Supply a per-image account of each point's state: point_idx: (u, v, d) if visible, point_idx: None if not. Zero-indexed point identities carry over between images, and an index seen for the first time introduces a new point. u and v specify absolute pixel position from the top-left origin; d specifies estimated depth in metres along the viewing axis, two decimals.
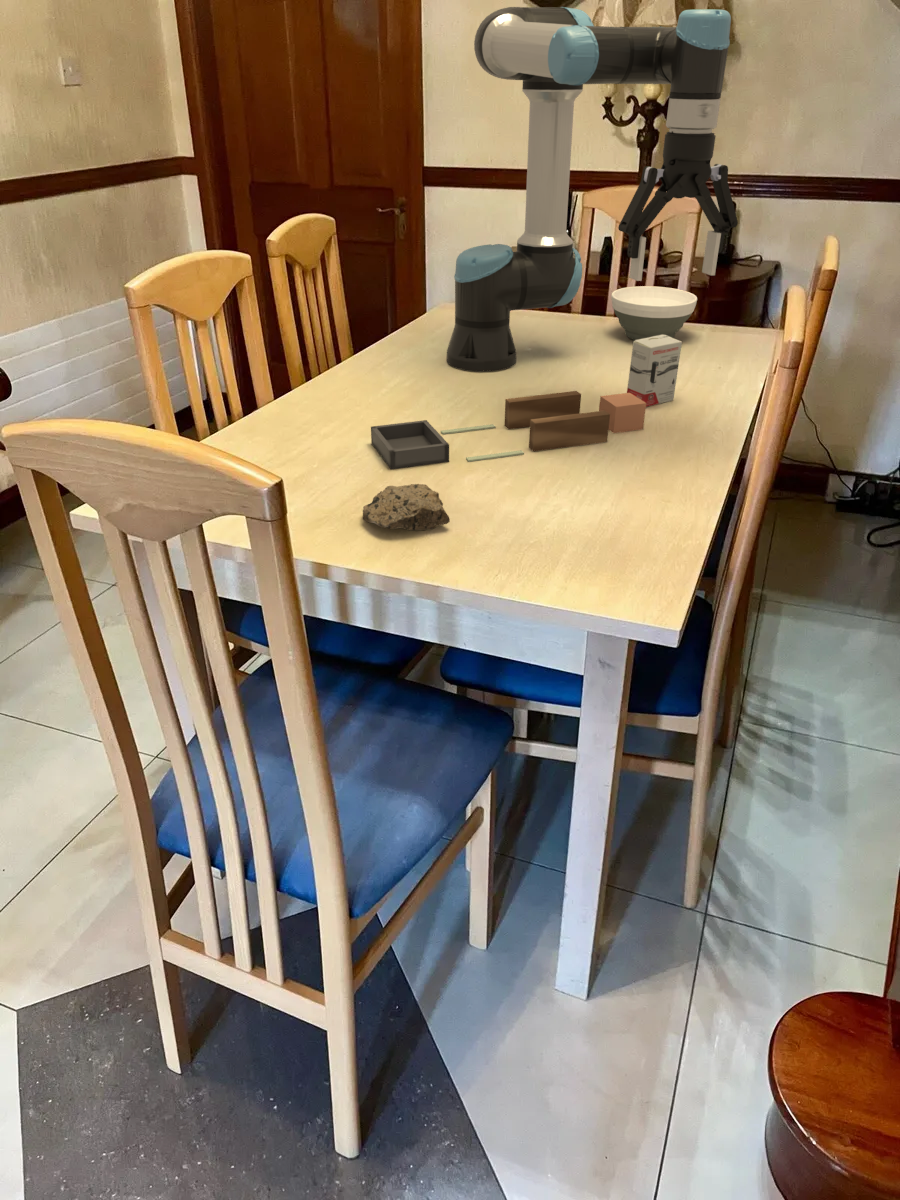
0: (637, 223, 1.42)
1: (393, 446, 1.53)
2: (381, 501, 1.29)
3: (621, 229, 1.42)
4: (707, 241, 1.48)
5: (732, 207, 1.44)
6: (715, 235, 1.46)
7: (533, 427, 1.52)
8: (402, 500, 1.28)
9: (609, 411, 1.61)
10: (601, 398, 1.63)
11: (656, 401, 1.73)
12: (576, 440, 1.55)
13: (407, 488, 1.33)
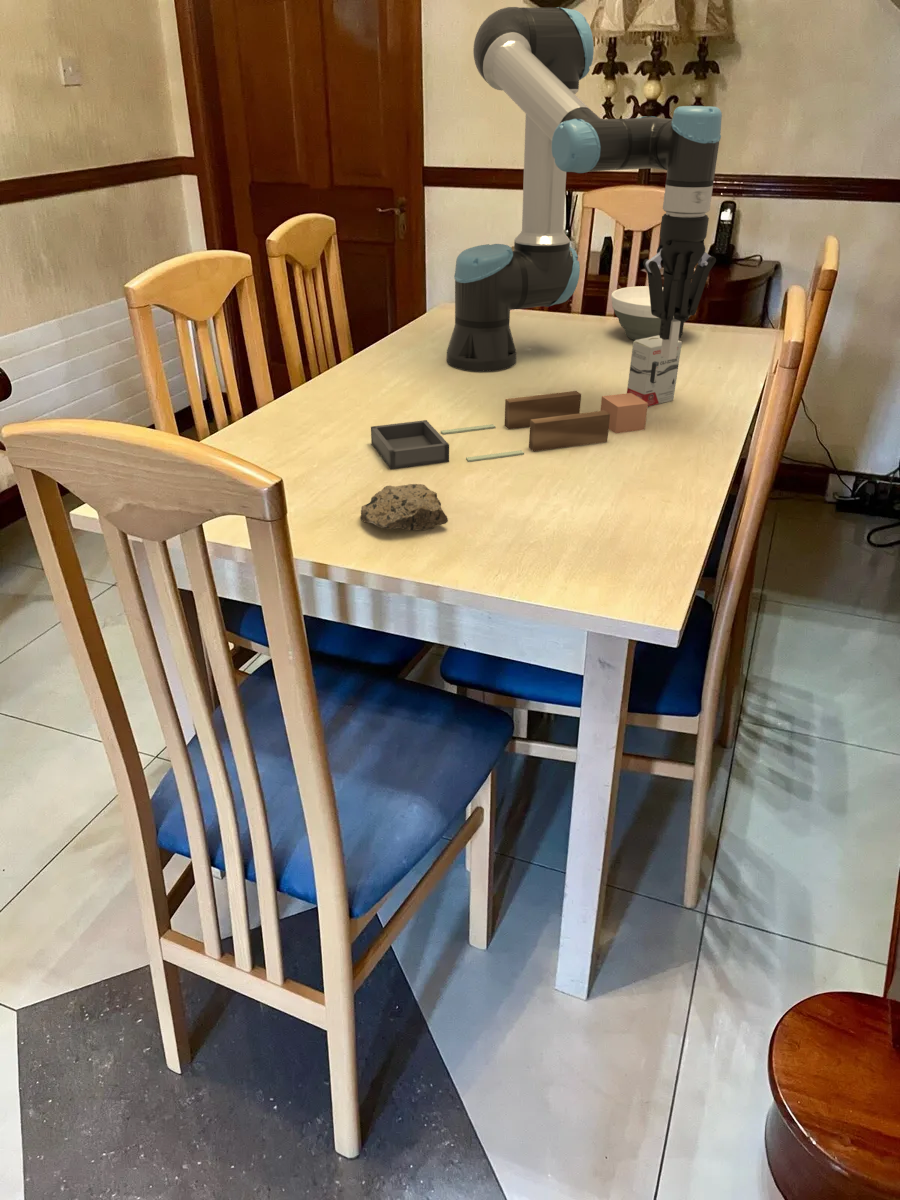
0: (664, 309, 1.55)
1: (393, 446, 1.53)
2: (379, 501, 1.29)
3: None
4: None
5: (699, 297, 1.55)
6: None
7: (533, 427, 1.52)
8: (400, 500, 1.29)
9: (611, 411, 1.61)
10: (603, 398, 1.63)
11: (656, 401, 1.73)
12: (576, 440, 1.55)
13: (405, 488, 1.33)
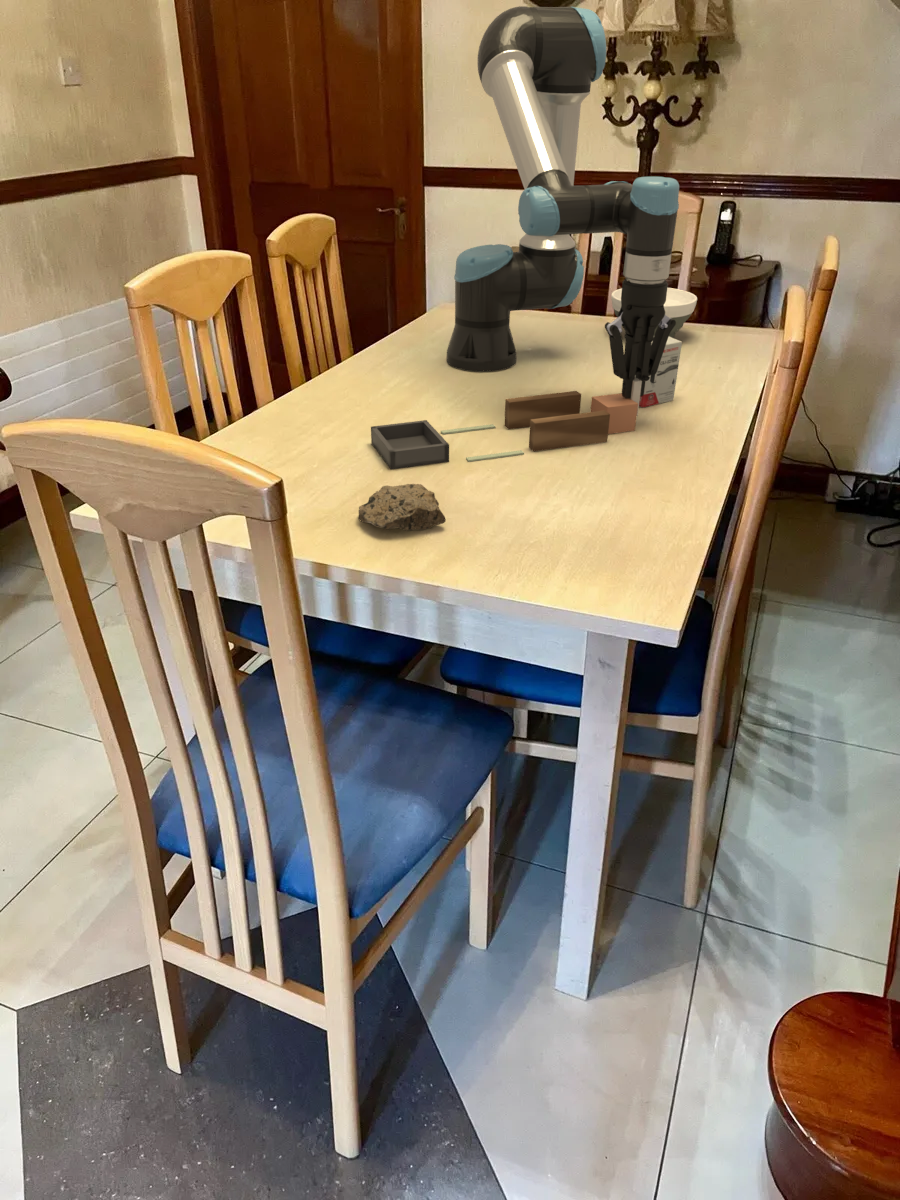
0: (625, 370, 1.59)
1: (393, 446, 1.53)
2: (377, 501, 1.29)
3: None
4: None
5: (659, 358, 1.59)
6: None
7: (533, 427, 1.52)
8: (398, 500, 1.29)
9: None
10: (593, 399, 1.62)
11: (656, 401, 1.73)
12: (576, 440, 1.55)
13: (403, 488, 1.33)
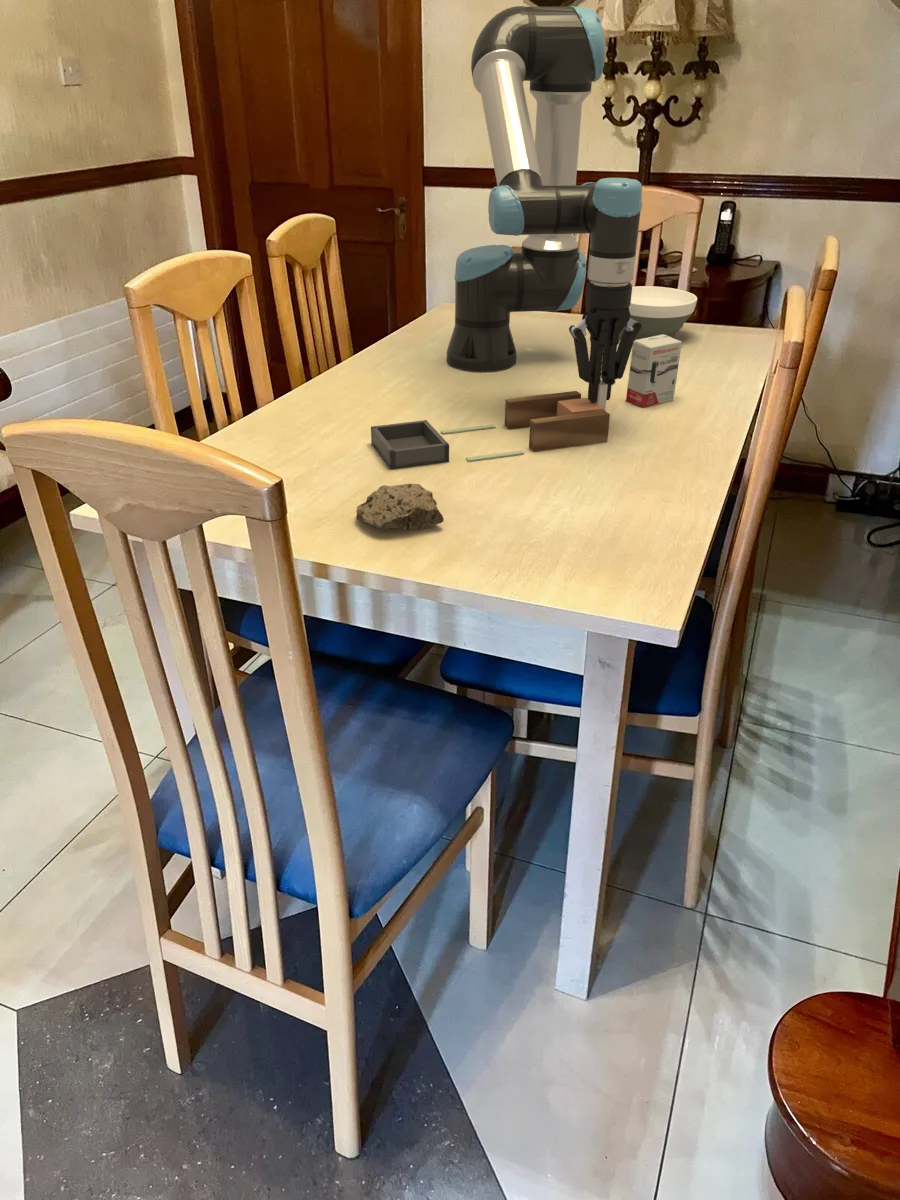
0: (591, 373, 1.57)
1: (393, 446, 1.53)
2: (375, 501, 1.30)
3: (582, 379, 1.57)
4: None
5: (626, 361, 1.57)
6: None
7: (533, 427, 1.52)
8: (396, 500, 1.29)
9: None
10: (558, 403, 1.60)
11: (656, 401, 1.73)
12: (576, 440, 1.55)
13: (401, 488, 1.33)
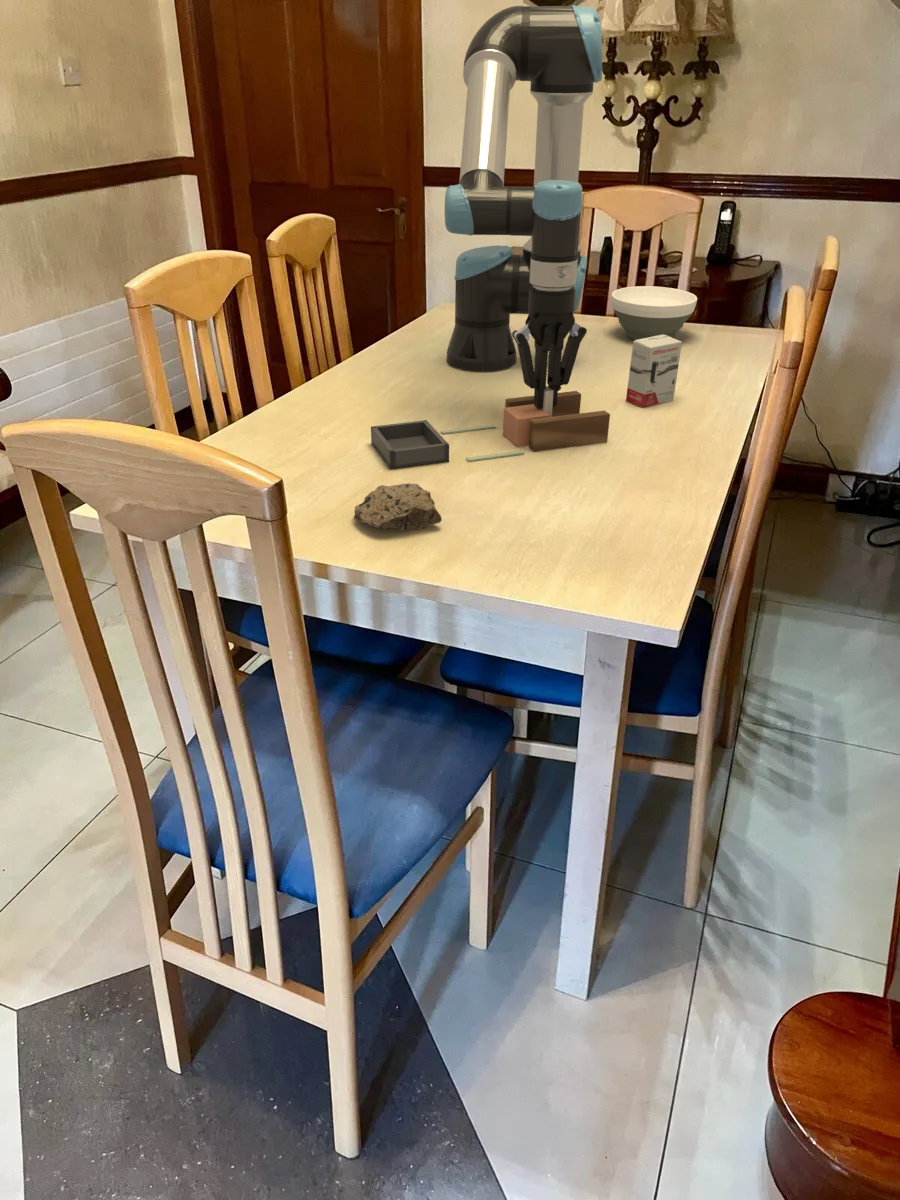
0: (536, 379, 1.54)
1: (393, 446, 1.53)
2: (373, 501, 1.30)
3: (527, 385, 1.54)
4: None
5: (571, 367, 1.54)
6: None
7: (533, 427, 1.52)
8: (393, 500, 1.29)
9: (512, 424, 1.55)
10: (504, 410, 1.57)
11: (656, 401, 1.73)
12: (576, 440, 1.55)
13: (399, 488, 1.33)
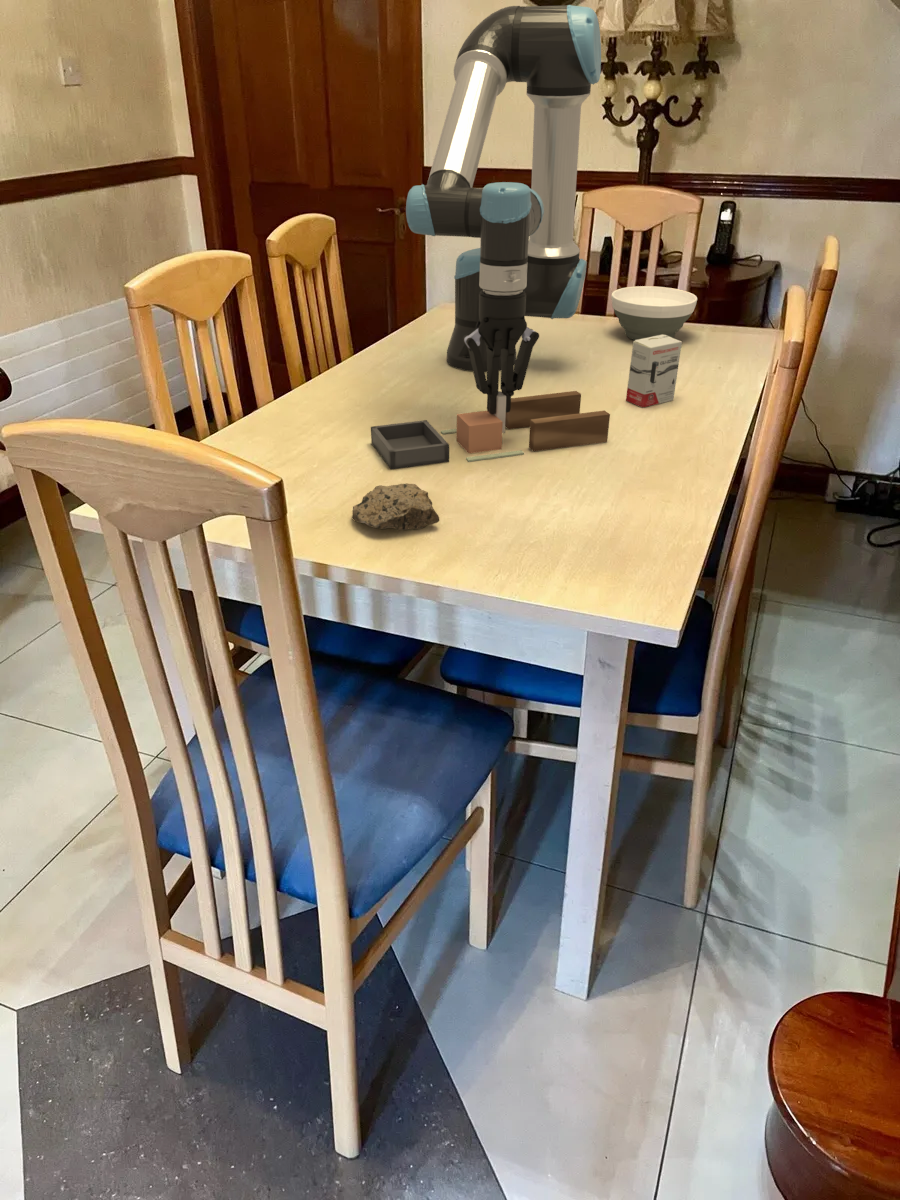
0: (489, 384, 1.52)
1: (393, 446, 1.53)
2: (371, 501, 1.30)
3: (480, 390, 1.52)
4: None
5: (524, 372, 1.51)
6: None
7: (533, 427, 1.52)
8: (391, 500, 1.29)
9: (464, 430, 1.53)
10: (457, 416, 1.55)
11: (656, 401, 1.73)
12: (576, 440, 1.55)
13: (396, 488, 1.33)
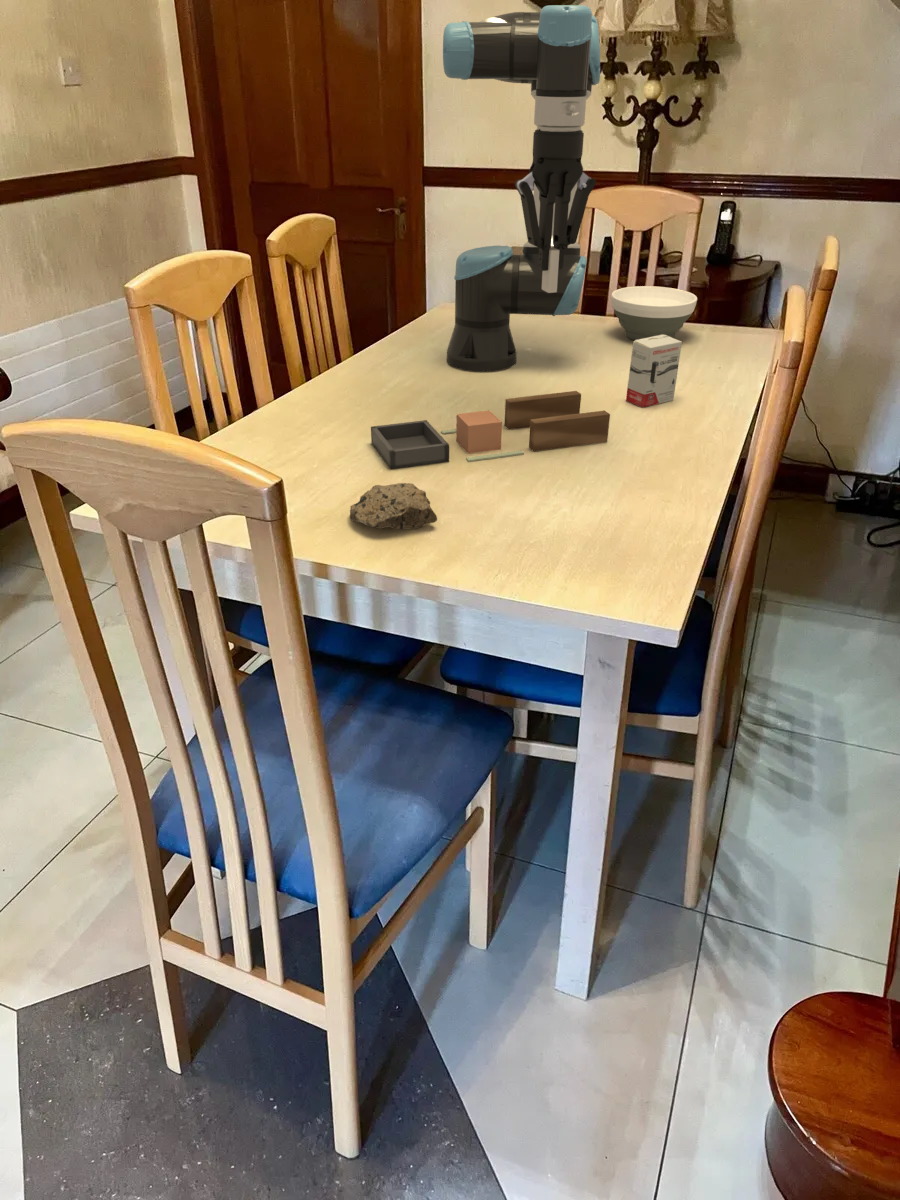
0: (541, 237, 1.43)
1: (393, 446, 1.53)
2: (368, 500, 1.30)
3: (531, 244, 1.43)
4: None
5: (579, 224, 1.43)
6: None
7: (533, 427, 1.52)
8: (389, 499, 1.29)
9: (463, 430, 1.53)
10: (457, 416, 1.55)
11: (656, 401, 1.73)
12: (576, 440, 1.55)
13: (394, 487, 1.33)
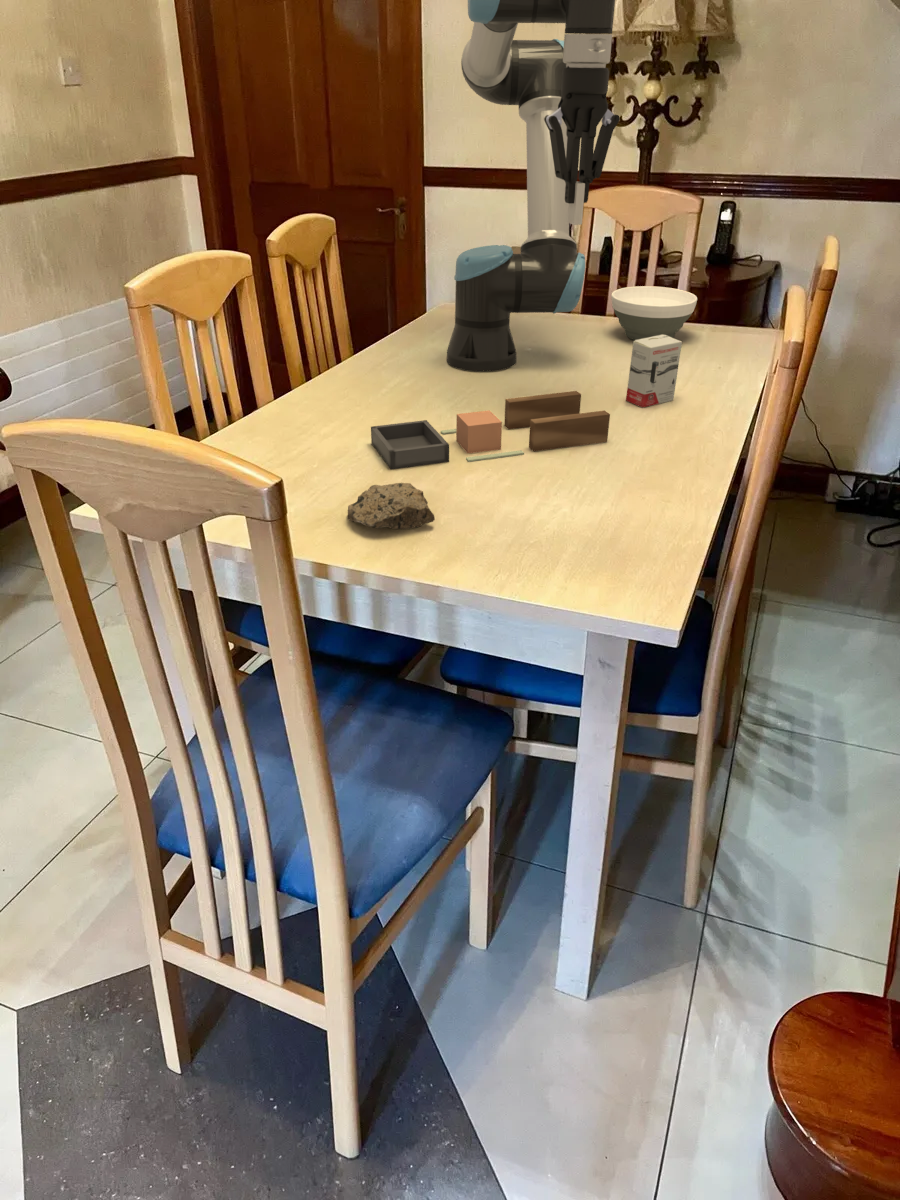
0: (568, 171, 1.52)
1: (393, 446, 1.53)
2: (366, 500, 1.30)
3: (559, 177, 1.53)
4: None
5: (603, 158, 1.52)
6: None
7: (533, 427, 1.52)
8: (387, 499, 1.29)
9: (463, 430, 1.53)
10: (457, 416, 1.55)
11: (656, 401, 1.73)
12: (576, 440, 1.55)
13: (392, 487, 1.33)
